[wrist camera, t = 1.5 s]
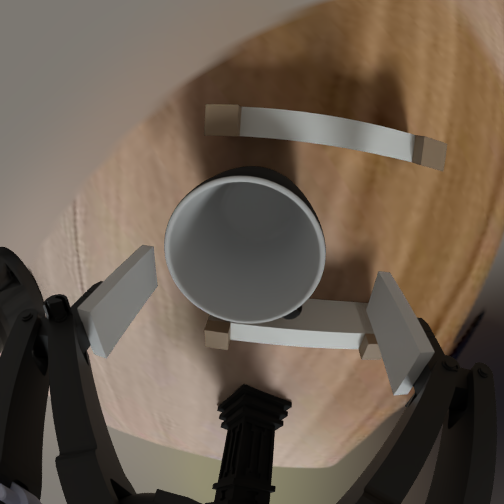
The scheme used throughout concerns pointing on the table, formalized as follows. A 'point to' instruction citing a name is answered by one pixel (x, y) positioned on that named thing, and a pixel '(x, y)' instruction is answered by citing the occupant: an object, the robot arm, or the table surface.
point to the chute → (327, 133)
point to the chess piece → (248, 446)
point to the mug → (246, 246)
